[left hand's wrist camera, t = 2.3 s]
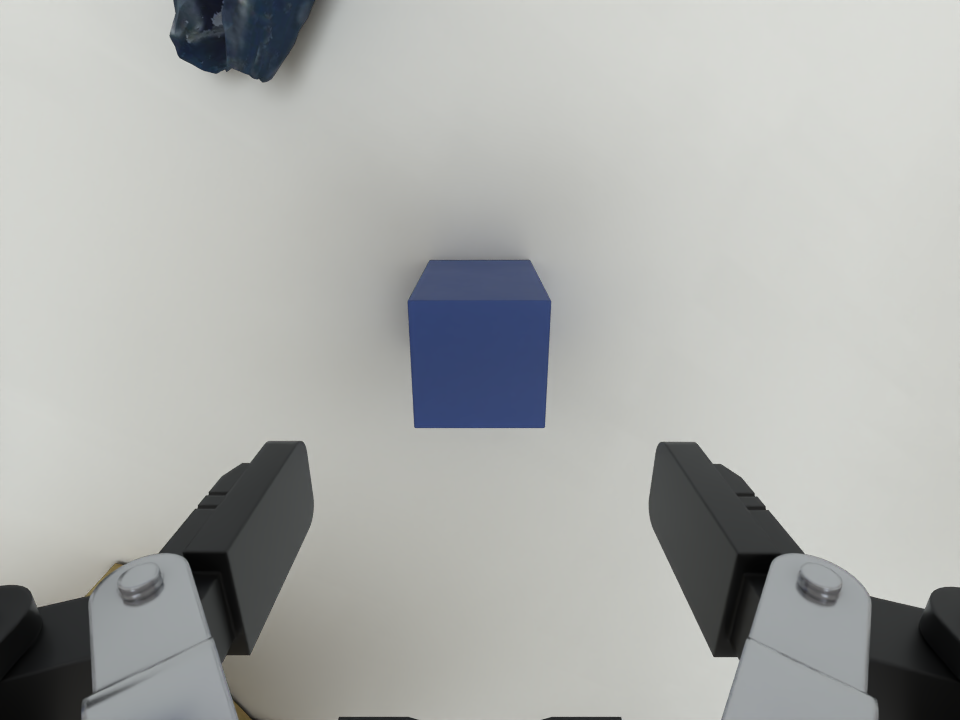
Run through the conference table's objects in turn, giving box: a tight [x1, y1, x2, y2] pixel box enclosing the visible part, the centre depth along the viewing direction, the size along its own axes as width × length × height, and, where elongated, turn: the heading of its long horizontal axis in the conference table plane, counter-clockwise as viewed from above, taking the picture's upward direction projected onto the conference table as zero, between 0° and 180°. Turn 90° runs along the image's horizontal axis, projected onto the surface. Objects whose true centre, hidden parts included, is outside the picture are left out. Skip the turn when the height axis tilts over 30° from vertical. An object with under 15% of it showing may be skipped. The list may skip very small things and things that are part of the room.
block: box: [408, 260, 551, 428], centre depth 22 cm, size 5×5×8 cm
